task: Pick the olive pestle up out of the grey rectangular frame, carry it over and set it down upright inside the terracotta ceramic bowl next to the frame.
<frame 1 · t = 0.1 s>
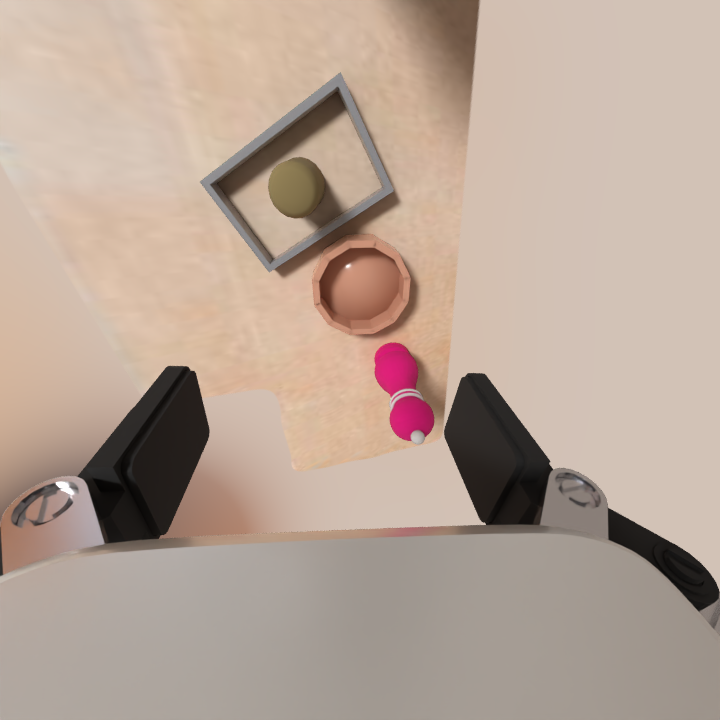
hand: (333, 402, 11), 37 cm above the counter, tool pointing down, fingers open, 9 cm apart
bowl: (359, 282, 47), on the counter
olive pestle: (301, 185, 39), resting in grey rectangular frame
pepper mill: (391, 356, 55), on the counter
grey rectangular frame: (301, 185, 39), on the counter
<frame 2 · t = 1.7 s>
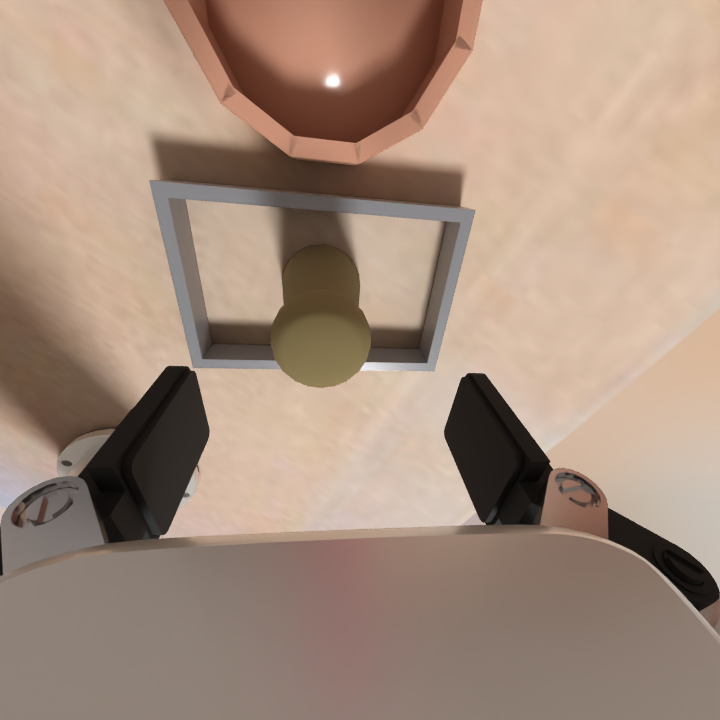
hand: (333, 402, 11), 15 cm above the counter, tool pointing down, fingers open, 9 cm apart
bowl: (328, 7, 16), on the counter
olive pestle: (321, 284, 24), resting in grey rectangular frame
grey rectangular frame: (321, 285, 24), on the counter
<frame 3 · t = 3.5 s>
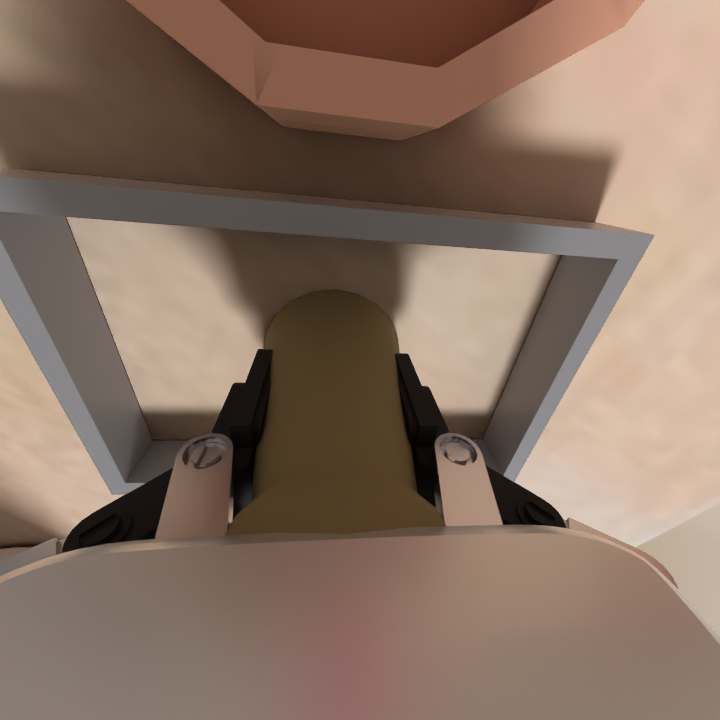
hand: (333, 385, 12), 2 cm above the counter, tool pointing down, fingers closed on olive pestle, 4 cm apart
olive pestle: (332, 351, 14), resting in grey rectangular frame, touching gripper
grey rectangular frame: (332, 354, 14), on the counter
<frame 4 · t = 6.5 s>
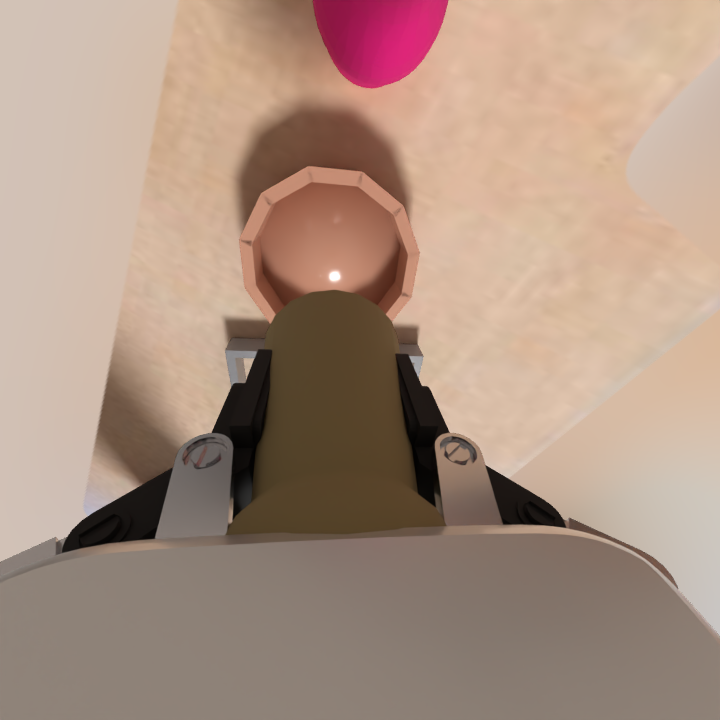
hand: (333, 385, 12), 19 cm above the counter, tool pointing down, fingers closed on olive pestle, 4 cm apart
bowl: (331, 257, 28), on the counter
olive pestle: (332, 351, 14), point 16 cm above the counter, touching gripper
pepper mill: (370, 26, 20), on the counter
grey rectangular frame: (326, 388, 36), on the counter
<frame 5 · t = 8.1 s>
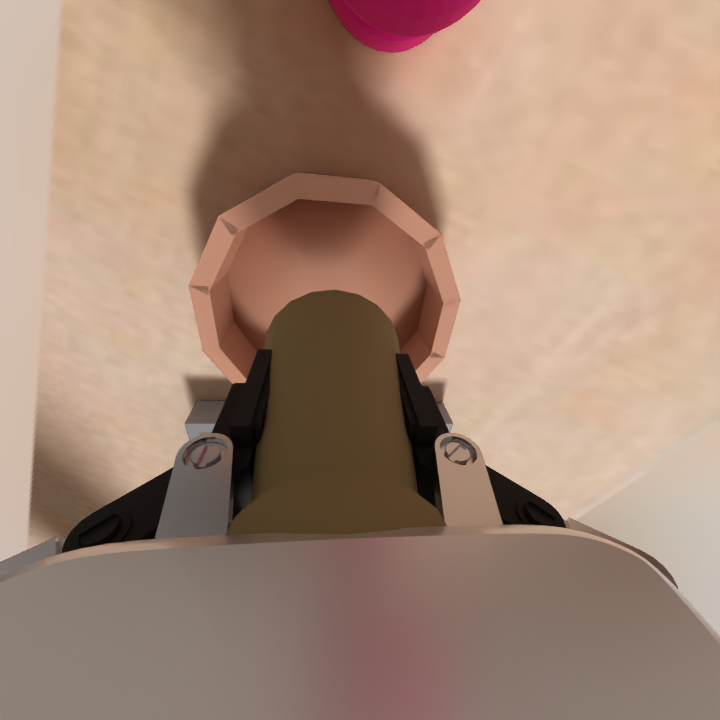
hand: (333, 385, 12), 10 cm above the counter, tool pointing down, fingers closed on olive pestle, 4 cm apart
bowl: (330, 298, 20), on the counter
olive pestle: (332, 351, 14), point 7 cm above the counter, touching gripper
grey rectangular frame: (324, 455, 28), on the counter
when the fingers open (4 cm above the counter, at t = 9.4 s): olive pestle drops 1 cm, resting on bowl.
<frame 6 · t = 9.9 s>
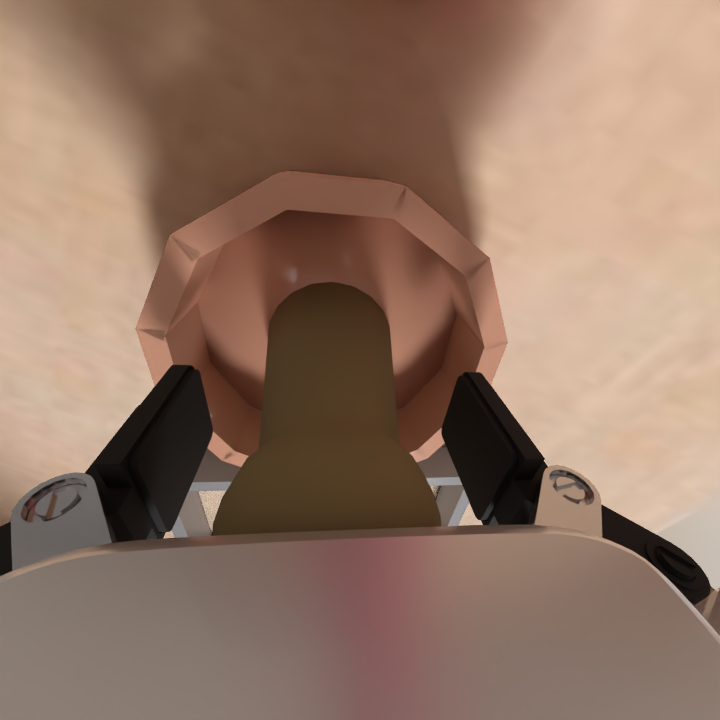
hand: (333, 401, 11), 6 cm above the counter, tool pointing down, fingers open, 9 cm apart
bowl: (332, 331, 16), on the counter
olive pestle: (330, 339, 15), point 1 cm above the counter, touching bowl
grey rectangular frame: (324, 503, 24), on the counter
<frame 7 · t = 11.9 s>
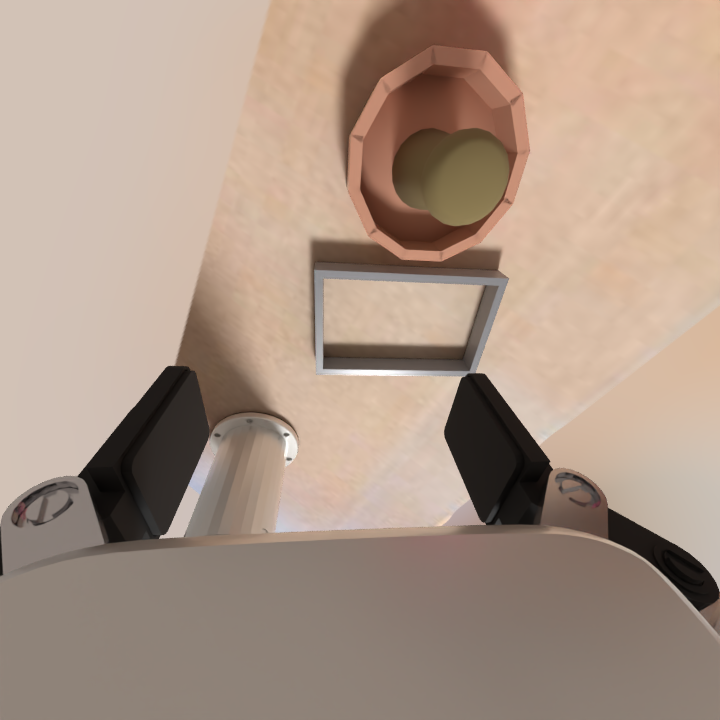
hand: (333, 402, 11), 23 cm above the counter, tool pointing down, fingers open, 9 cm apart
bowl: (425, 168, 27), on the counter
olive pestle: (425, 171, 27), point 1 cm above the counter, touching bowl
grey rectangular frame: (400, 319, 36), on the counter
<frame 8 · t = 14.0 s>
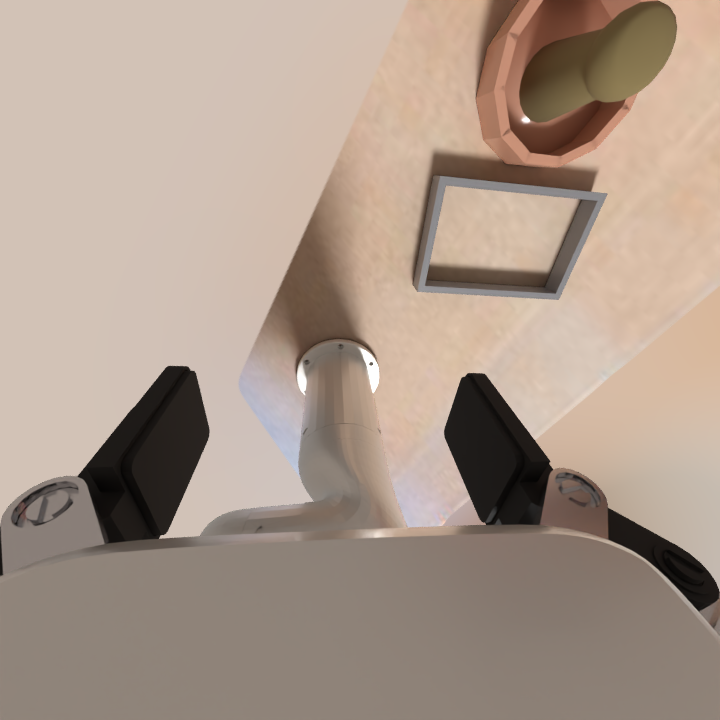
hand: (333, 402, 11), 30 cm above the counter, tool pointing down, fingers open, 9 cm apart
bowl: (546, 83, 30), on the counter
olive pestle: (548, 84, 30), point 1 cm above the counter, touching bowl
grey rectangular frame: (497, 241, 38), on the counter
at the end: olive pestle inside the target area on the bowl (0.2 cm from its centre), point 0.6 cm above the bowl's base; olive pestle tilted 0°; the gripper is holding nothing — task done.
